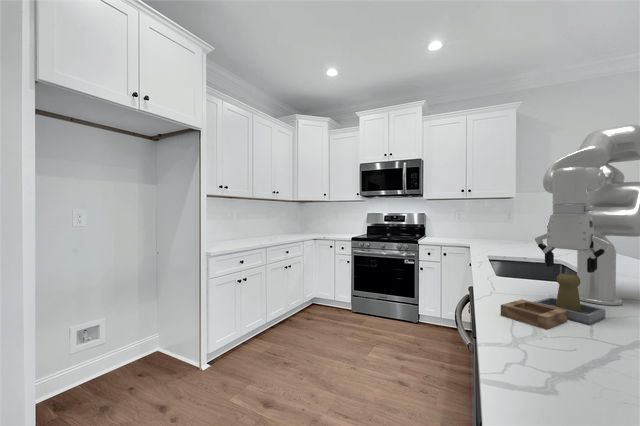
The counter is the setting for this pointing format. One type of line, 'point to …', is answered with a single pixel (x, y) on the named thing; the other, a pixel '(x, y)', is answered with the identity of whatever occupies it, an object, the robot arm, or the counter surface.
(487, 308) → the counter surface
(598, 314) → the tray
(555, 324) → the socket block
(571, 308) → the cork
